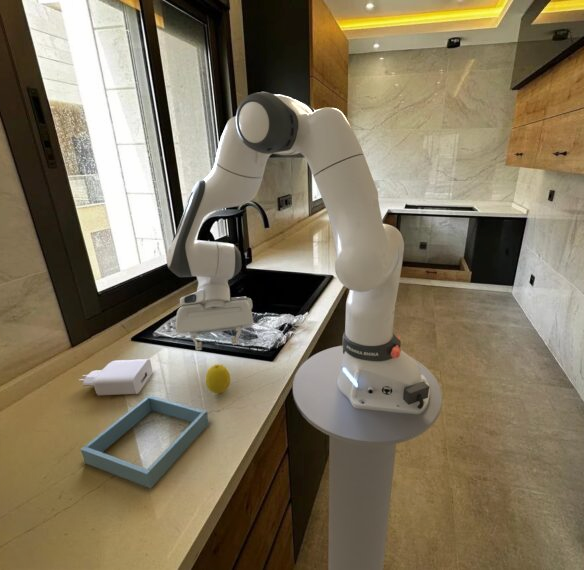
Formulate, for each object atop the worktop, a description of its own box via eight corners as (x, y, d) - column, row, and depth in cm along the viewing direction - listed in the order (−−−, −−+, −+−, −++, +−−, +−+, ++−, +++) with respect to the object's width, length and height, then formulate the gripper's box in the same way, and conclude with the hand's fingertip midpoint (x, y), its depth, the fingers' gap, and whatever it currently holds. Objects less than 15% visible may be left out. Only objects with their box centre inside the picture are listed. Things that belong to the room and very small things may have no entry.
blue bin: (209, 423, 70) (206, 411, 69) (150, 488, 56) (146, 474, 55) (151, 407, 75) (149, 394, 73) (85, 463, 61) (80, 449, 60)
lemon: (219, 383, 83) (215, 356, 80) (236, 389, 81) (233, 362, 78) (202, 396, 78) (198, 368, 75) (220, 403, 76) (216, 374, 73)
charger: (94, 374, 86) (153, 372, 87) (71, 398, 77) (136, 395, 78) (89, 359, 84) (149, 357, 85) (65, 382, 75) (132, 379, 76)
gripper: (251, 299, 98) (256, 344, 93) (178, 307, 93) (179, 355, 88) (251, 291, 93) (256, 338, 88) (173, 299, 87) (174, 349, 82)
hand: (217, 346), depth 88 cm, fingers open, 8 cm apart
